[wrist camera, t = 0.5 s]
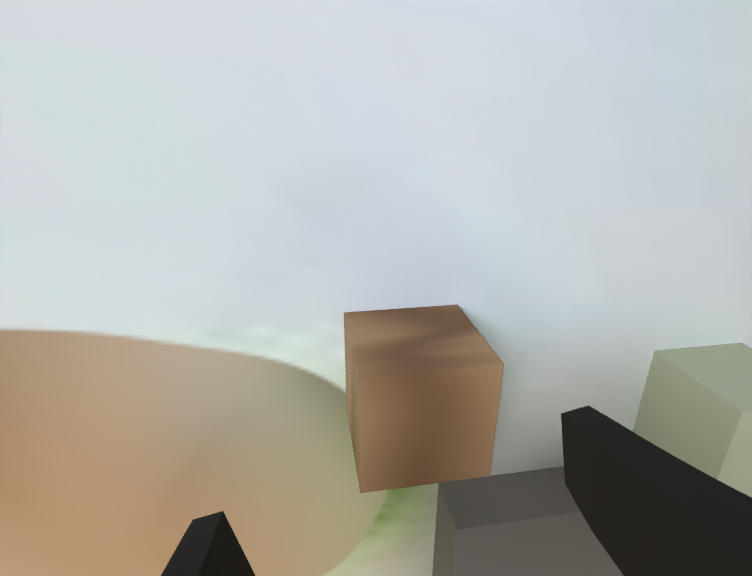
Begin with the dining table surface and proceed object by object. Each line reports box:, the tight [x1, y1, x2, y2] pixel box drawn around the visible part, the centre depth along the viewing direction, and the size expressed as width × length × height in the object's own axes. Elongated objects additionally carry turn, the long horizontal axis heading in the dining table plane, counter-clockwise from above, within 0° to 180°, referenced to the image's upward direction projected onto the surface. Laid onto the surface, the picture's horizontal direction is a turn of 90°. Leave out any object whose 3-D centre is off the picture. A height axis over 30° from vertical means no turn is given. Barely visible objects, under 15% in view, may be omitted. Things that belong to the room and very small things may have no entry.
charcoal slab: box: [432, 467, 624, 576], centre depth 23 cm, size 10×10×3 cm
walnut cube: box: [344, 305, 504, 493], centre depth 17 cm, size 4×4×4 cm
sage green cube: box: [633, 343, 752, 497], centre depth 20 cm, size 4×4×4 cm
